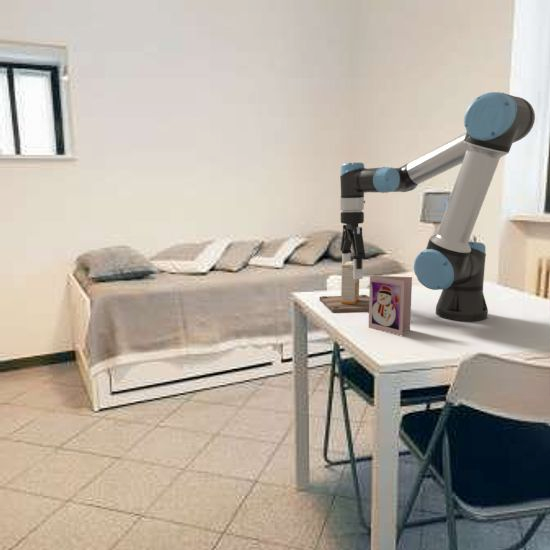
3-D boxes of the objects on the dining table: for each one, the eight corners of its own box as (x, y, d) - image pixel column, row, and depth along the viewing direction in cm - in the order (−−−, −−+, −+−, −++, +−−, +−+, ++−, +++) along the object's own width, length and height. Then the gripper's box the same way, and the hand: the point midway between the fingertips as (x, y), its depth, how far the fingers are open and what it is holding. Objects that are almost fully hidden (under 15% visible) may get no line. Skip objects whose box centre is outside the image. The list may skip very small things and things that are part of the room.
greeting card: (366, 328, 150) (368, 276, 147) (382, 323, 155) (384, 272, 152) (400, 336, 141) (402, 281, 139) (416, 331, 146) (418, 278, 144)
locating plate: (383, 310, 170) (383, 305, 169) (332, 312, 167) (332, 307, 167) (366, 298, 187) (366, 294, 187) (319, 300, 185) (319, 295, 185)
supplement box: (355, 304, 173) (356, 265, 170) (340, 303, 174) (341, 264, 172) (359, 299, 180) (360, 261, 178) (345, 298, 182) (346, 260, 179)
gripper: (375, 212, 160) (375, 281, 163) (352, 209, 184) (352, 269, 188) (351, 213, 159) (351, 282, 162) (331, 210, 183) (331, 270, 187)
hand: (352, 275), depth 175 cm, fingers open, 13 cm apart
